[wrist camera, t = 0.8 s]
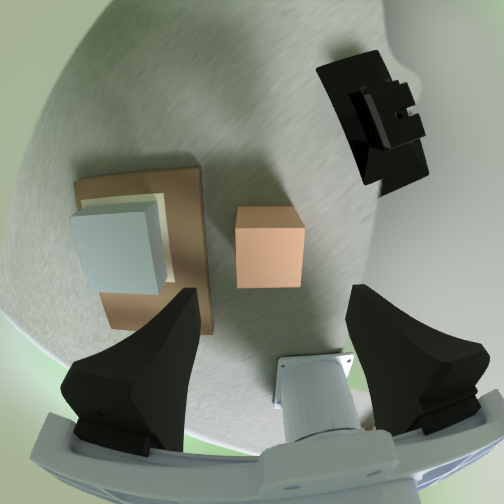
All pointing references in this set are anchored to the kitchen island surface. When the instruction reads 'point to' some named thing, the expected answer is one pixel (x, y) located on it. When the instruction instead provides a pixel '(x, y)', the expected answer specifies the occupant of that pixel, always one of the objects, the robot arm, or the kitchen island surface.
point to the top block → (269, 247)
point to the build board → (173, 237)
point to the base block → (121, 247)
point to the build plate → (376, 120)
